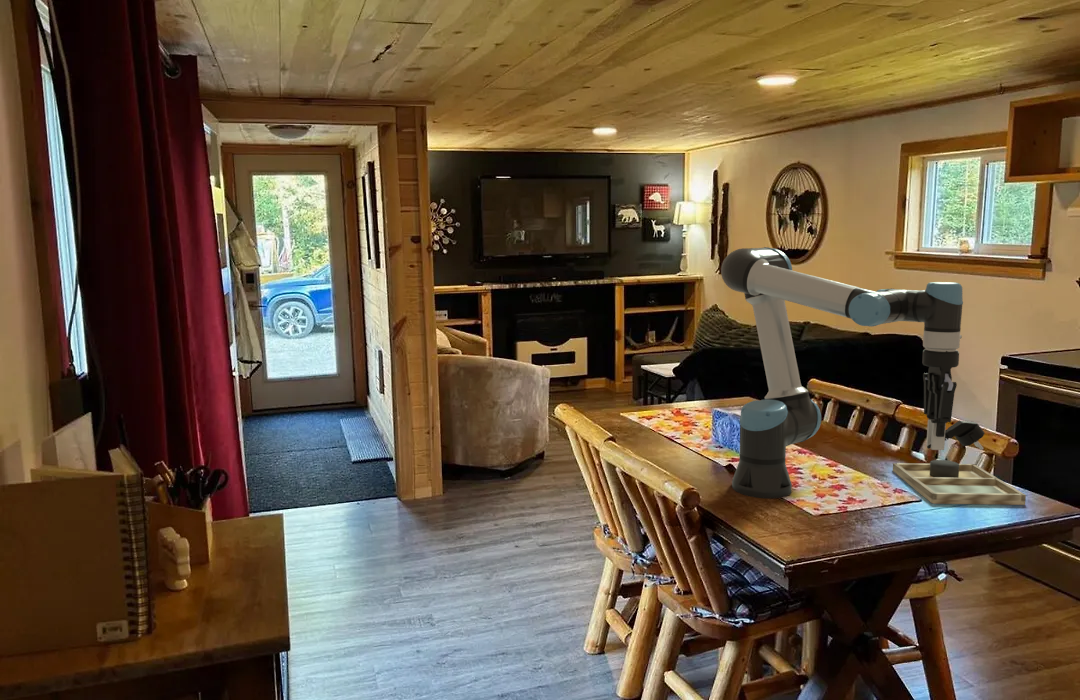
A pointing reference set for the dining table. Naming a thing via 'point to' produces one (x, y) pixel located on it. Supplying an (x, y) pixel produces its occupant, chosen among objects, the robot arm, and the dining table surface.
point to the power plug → (965, 433)
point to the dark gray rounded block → (944, 468)
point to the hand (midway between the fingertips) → (935, 447)
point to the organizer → (959, 485)
